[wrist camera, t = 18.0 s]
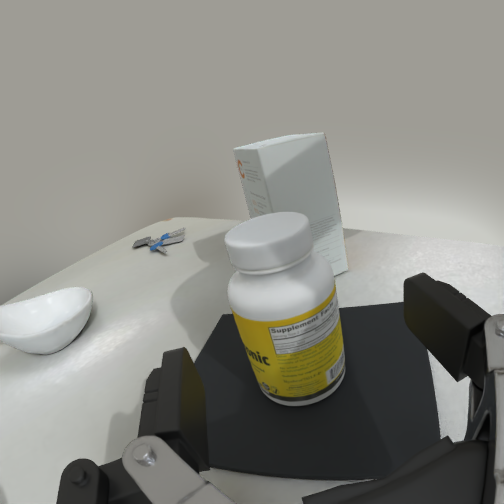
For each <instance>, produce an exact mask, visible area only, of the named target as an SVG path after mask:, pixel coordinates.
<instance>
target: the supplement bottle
mask: <svg viewBox="0 0 504 504" xmlns="http://www.w3.org/2000/svg"><path fill="white" fill-rule="evenodd" d="M225 244H226V248H227V251H228V255H229V259H230V262H231V263H232V266H233V268H234V269H235V270H236V272H235V273H234V274H233V276H232V277H231V279H230V281H229V284H228V289H227V294H228V299H229V303H230V307H231V310H232V313H233V316H234V318H235V322H236V324H237V327H238V330H239V333H240V336H241V339H242V341H243V344H244V347H245V349H246V352H247V355H248V357H249V360H250V363H251V365H252V368H253V371H254V373H255V376H256V378H257V381H258V384H259V386H260V388H261V390H262V391H263V393H264V394H265V395H266V396H267V397H268V398H270V399H271V400H273V401H275V402H277V403H279V404H282V405H287V406H303V405H309V404H312V403H315V402H318V401H320V400H322V399H324V398H326V397H327V396H329V395H330V394H332V393H333V392H334V391H335V390H336V389H337V388H338V386H339V385H340V383H341V382H342V380H343V377H344V374H345V355H344V346H343V337H342V330H341V322H340V314H339V308H338V300H337V293H336V285H335V278H334V274H333V270H332V267H331V265H330V263H329V262H328V261H327V260H326V259H325V258H324V257H323V256H322V255H320V254H318V253H316V252H314V251H313V248H314V244H313V237H312V233H311V228H310V223H309V220H308V218H307V217H306V216H305V215H304V214H301V213H297V212H277V213H271V214H266V215H262V216H258V217H255V218H252V219H249V220H247V221H245V222H242V223H240V224H238V225H237V226H235V227H234V228H232V229H231V230H230V231H229V232H228V233H227V234H226V236H225Z"/></svg>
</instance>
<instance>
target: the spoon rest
mask: <svg viewBox="0 0 504 504" xmlns="http://www.w3.org/2000/svg"><path fill="white" fill-rule="evenodd" d="M92 302H93V294H92V292H91V291H90V290H89V289H87V288H84V287H71V288H65V289H61V290H57V291H53V292H50V293H47V294H43V295H41V296H37V297H34V298H31V299H27V300H24V301H20V302H16V303H11V304H6V305H2V306H0V341H1V342H3V343H5V344H8V345H10V346H12V347H14V348H16V349H19V350H21V351H24V352H28V353H39V354H51V353H55V352H57V351H59V350H61V349H63V348H64V347H66V346H67V345H68V344H70V343H71V342H72V341H73V340H74V339H75V338H76V336H77V335H78V334H79V333H80V332H81V330H82V329H83V327H84V326H85V324H86V322H87V320H88V318H89V315H90V312H91V308H92Z"/></svg>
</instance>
